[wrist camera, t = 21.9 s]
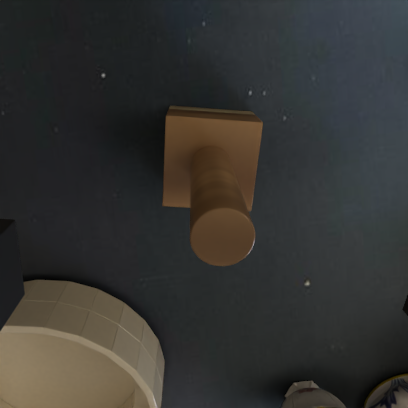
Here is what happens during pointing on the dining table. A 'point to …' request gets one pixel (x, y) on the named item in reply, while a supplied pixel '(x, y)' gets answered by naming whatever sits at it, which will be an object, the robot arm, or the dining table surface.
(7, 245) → the robot arm
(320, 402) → the chinaware
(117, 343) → the bowl
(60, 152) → the dining table surface
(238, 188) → the brown wooden stamp
